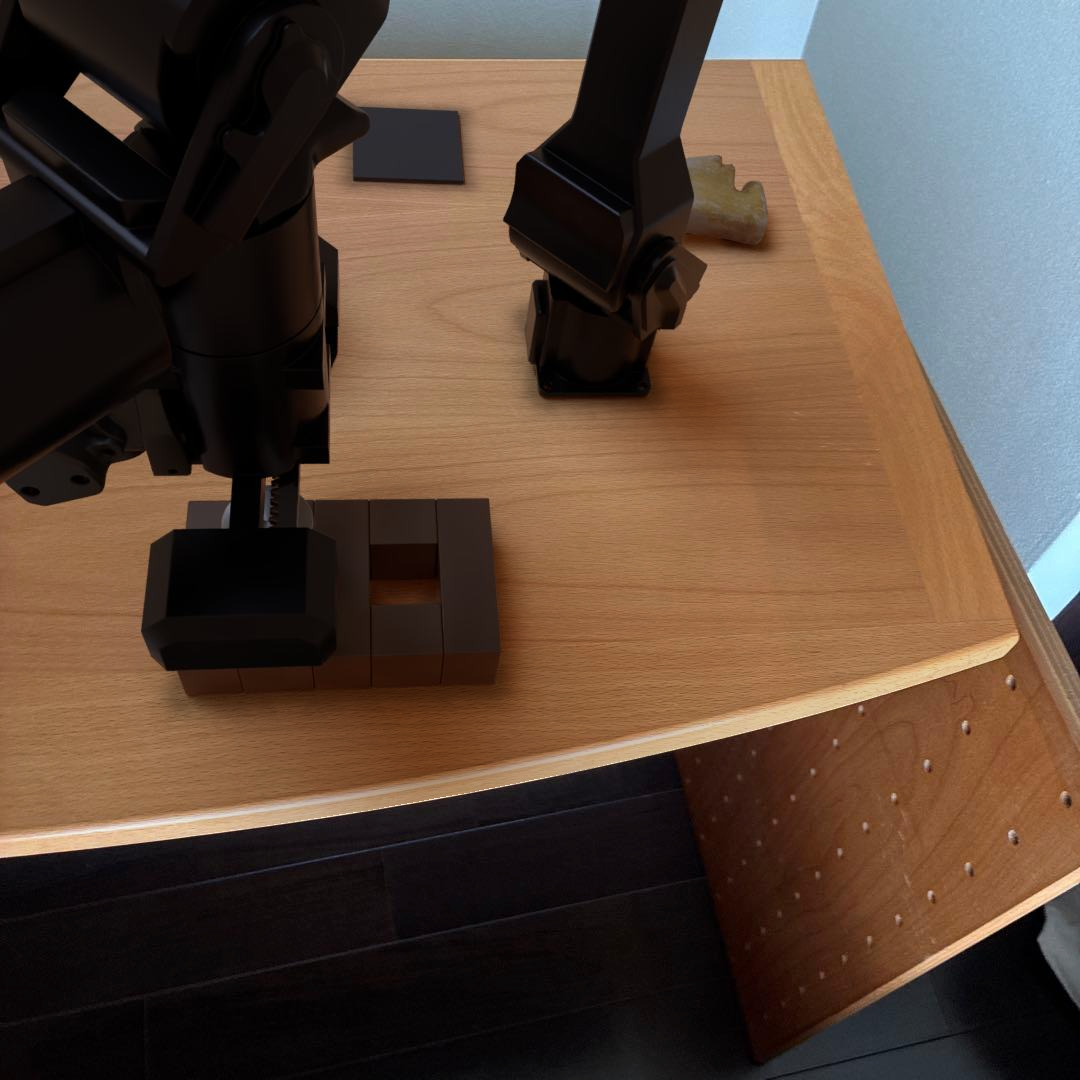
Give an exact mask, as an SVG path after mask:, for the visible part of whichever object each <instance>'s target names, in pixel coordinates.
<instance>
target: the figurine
mask: <svg viewBox="0 0 1080 1080" xmlns="http://www.w3.org/2000/svg"><path fill="white" fill-rule="evenodd" d="M685 158H686V162H687V166H688V171H689V175H690V179H691V183H692V187H693V192H694V202H693V205H692V209H691V213H690V217H689V221H688V225H687V228H686V232H685V234H686V233H687V234H694V235H698V236H699V235H700V236H707V237H714V238H719V239H723V240H729V241H733V242H737V243H739V244H744V245H748V246H757V245H758V244H759V243H760V242H761V240H762V239H763V237H764V235H765V233H766V230H767V227H768V222H769V212H768V204H767V197H766V193H765V189H764V185H763V184H762V182H761V181H759V180H749V181H747V182H746V183H745V184H744V185H743V186H742V188H741V190H739V189H737V188H736V186H735V180H736V167H735V166H734V165H733V163H730V164H729V163H728V164H727V163H726V164H725V163H724V164H723V156H721V155H719V154H711V155H700V156H692V157H691V156H689V157H685Z"/></svg>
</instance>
